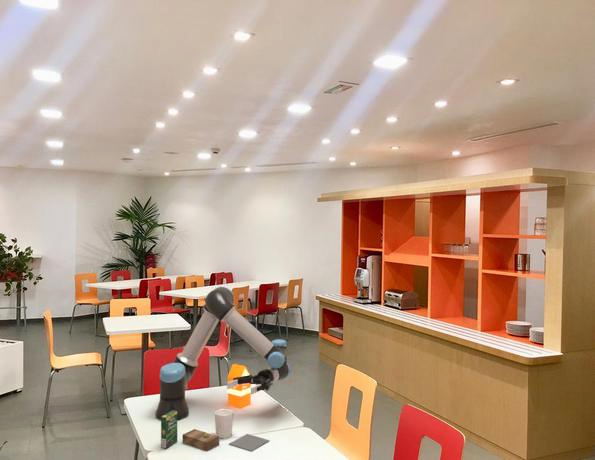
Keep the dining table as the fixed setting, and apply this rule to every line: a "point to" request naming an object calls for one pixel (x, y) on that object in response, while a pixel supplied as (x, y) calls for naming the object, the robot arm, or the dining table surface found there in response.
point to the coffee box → (169, 429)
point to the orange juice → (239, 388)
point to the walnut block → (201, 440)
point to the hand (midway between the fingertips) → (239, 388)
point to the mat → (249, 442)
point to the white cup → (223, 423)
